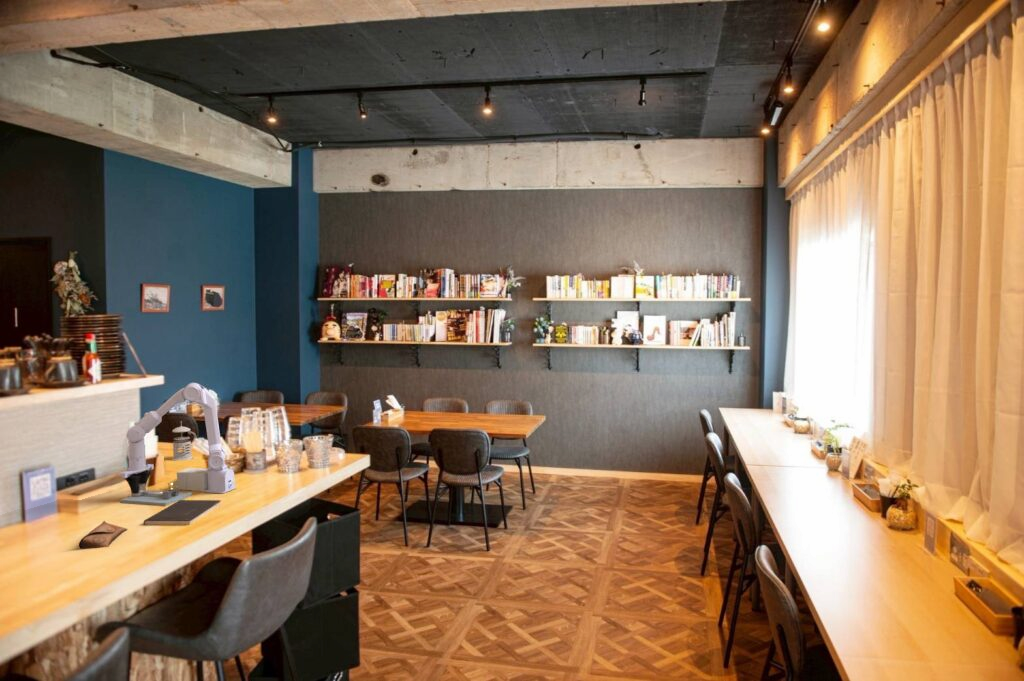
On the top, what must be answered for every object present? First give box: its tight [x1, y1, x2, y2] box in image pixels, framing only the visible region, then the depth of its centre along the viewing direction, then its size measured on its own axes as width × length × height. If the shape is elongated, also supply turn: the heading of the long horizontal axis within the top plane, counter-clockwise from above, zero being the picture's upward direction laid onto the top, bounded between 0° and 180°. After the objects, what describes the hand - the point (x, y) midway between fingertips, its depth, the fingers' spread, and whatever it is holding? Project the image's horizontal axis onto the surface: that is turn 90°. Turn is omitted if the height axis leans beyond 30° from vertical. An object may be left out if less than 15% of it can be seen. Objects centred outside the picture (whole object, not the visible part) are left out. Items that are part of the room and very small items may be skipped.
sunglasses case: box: [78, 520, 128, 550], centre depth 221 cm, size 18×7×7 cm
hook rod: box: [130, 483, 163, 496], centre depth 266 cm, size 14×3×4 cm, turn 77°
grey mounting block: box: [162, 487, 180, 500], centre depth 264 cm, size 2×6×3 cm, turn 167°
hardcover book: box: [143, 499, 222, 526], centre depth 246 cm, size 16×23×2 cm
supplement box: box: [176, 467, 208, 492], centre depth 280 cm, size 7×7×13 cm
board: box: [119, 489, 193, 507], centre depth 265 cm, size 20×14×1 cm
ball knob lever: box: [167, 478, 178, 490], centre depth 266 cm, size 2×6×2 cm, turn 5°
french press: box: [170, 406, 197, 462], centre depth 334 cm, size 10×12×25 cm
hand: (138, 492), depth 267 cm, fingers closed on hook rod, 3 cm apart
